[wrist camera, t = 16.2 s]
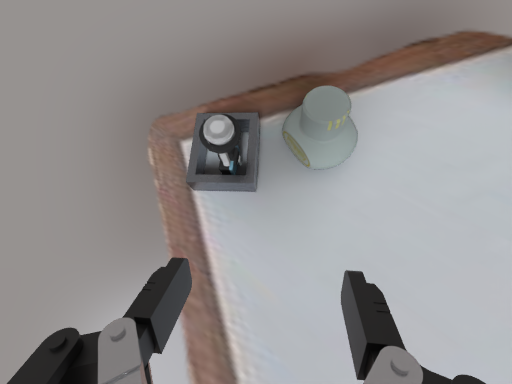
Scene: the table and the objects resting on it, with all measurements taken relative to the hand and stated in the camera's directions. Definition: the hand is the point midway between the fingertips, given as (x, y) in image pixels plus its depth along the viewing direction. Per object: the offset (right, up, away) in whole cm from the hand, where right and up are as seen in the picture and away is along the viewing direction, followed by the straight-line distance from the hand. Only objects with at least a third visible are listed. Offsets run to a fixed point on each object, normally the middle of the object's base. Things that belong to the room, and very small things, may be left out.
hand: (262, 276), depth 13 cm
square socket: (-5, +10, +28) cm, 30 cm away
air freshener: (+9, +12, +27) cm, 31 cm away
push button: (-4, +10, +28) cm, 29 cm away
